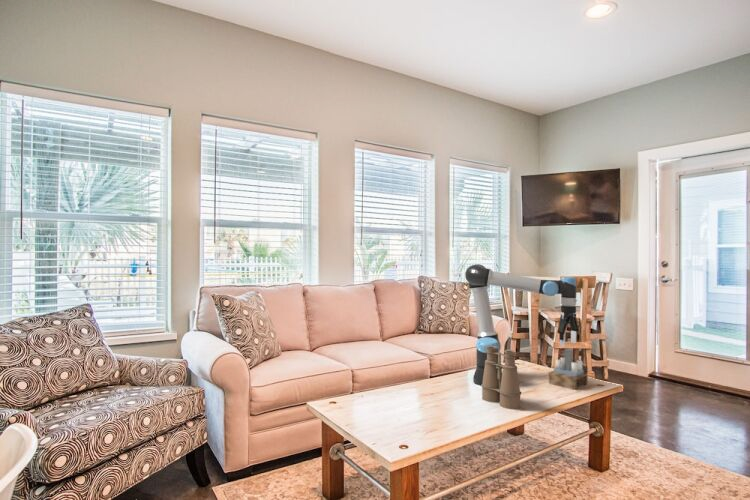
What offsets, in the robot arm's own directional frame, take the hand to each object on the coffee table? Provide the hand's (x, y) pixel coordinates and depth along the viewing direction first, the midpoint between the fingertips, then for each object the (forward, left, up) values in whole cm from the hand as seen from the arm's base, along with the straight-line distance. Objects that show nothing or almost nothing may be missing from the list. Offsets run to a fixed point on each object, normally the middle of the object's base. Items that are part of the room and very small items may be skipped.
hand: (568, 344), depth 227 cm
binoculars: (-8, -54, -21) cm, 58 cm away
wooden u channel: (0, -1, -21) cm, 21 cm away
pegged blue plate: (0, 0, -15) cm, 15 cm away
